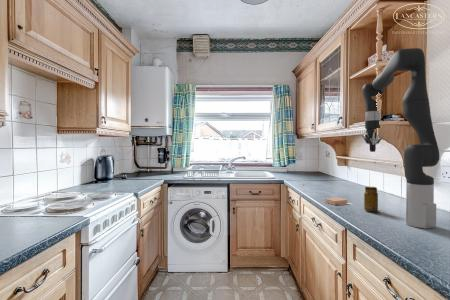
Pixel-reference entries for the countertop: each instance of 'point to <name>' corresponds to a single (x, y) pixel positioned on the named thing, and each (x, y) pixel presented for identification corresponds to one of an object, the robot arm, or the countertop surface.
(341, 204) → the board
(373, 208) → the condiment
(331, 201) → the tile
